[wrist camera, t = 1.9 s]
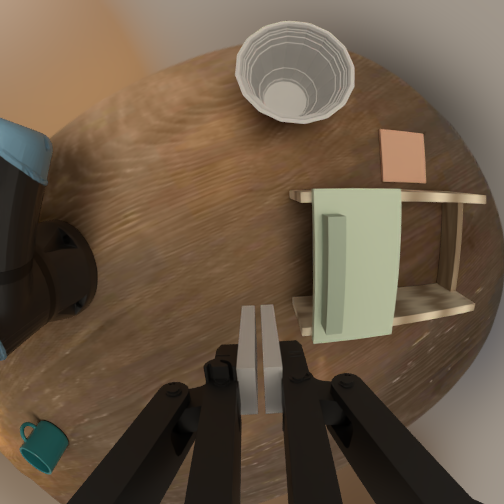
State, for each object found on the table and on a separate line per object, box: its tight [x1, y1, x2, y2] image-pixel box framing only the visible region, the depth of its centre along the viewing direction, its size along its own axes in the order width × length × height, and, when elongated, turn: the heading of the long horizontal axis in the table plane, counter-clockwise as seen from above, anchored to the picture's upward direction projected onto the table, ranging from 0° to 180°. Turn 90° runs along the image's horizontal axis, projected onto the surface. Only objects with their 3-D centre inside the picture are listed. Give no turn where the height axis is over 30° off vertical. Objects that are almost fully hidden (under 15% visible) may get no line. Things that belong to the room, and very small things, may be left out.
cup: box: [20, 421, 68, 474], centre depth 42 cm, size 9×12×11 cm
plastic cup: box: [235, 21, 354, 124], centre depth 28 cm, size 11×11×12 cm
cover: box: [311, 188, 401, 344], centre depth 27 cm, size 9×16×3 cm, turn 3°
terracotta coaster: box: [378, 129, 426, 183], centre depth 34 cm, size 7×7×1 cm
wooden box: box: [289, 189, 486, 336], centre depth 33 cm, size 24×15×9 cm, turn 93°
